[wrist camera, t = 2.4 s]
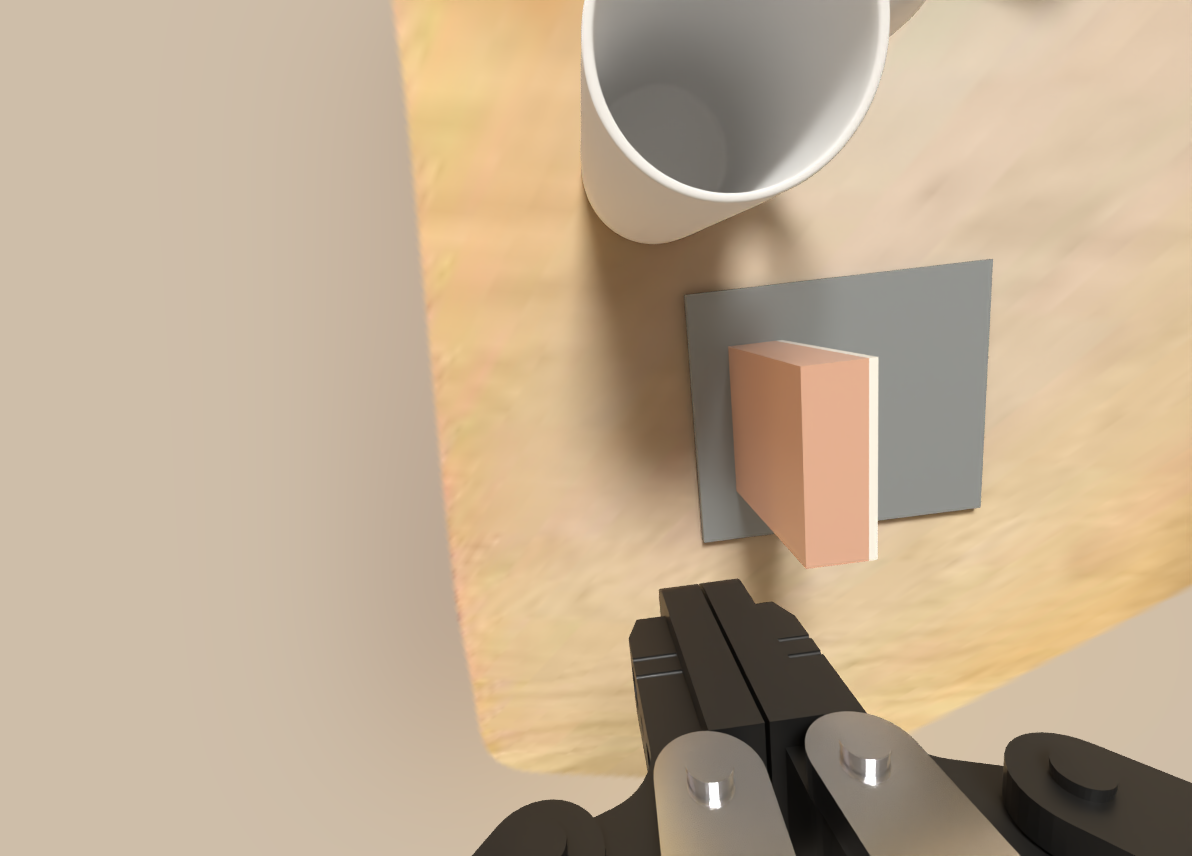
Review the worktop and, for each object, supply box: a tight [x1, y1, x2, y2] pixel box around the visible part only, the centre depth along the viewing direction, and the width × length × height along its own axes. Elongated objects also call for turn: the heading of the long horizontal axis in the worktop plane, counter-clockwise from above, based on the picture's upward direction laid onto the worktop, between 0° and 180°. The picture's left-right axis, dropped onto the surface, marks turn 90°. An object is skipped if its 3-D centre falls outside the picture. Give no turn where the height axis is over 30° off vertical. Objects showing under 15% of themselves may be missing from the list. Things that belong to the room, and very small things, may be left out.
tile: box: [728, 340, 878, 569], centre depth 22 cm, size 2×7×8 cm, turn 6°
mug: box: [581, 0, 925, 244], centre depth 18 cm, size 10×7×12 cm, turn 113°
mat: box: [684, 259, 993, 543], centre depth 26 cm, size 14×12×1 cm
